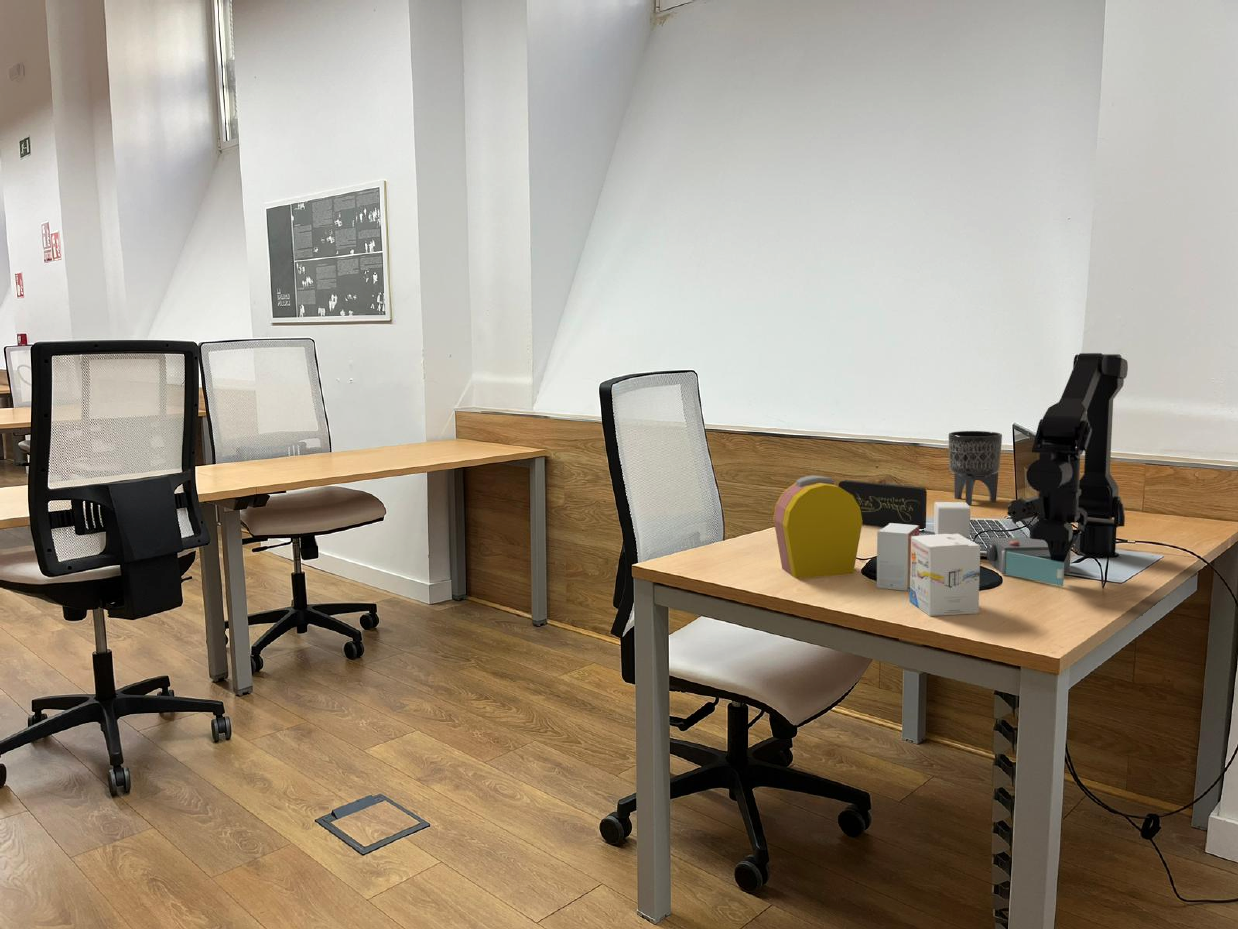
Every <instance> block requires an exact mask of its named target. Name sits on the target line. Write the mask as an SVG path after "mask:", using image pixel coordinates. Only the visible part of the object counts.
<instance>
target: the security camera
mask: <svg viewBox="0 0 1238 929" xmlns="http://www.w3.org/2000/svg"><path fill="white" fill-rule="evenodd" d="M933 506H934V508H933V513H934V514H933V532H934V535H935V534H960V535H962V536H963V537H965V538H966V537H967V539H970V535H971V507H970V505H968V504H967V503H966V501H965V502H962V501H958V502H957V501H953V502H952V501H950V502H949V501H945V502H944V501H935V502H934V505H933Z"/></svg>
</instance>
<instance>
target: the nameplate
mask: <svg viewBox="0 0 1238 929" xmlns="http://www.w3.org/2000/svg"><path fill="white" fill-rule="evenodd" d="M837 486H838V487H840V488H842V489H843V490H845V491H846V492H848V493H850V494H851V495H852V496H853V497H854V499H855V500H856V502H857V504H858V505H859V507H860V511H861V516H862V526H864V525H865V526H872V527H879V528H884V527H886V526H887V525H888V524H889V523H896V524H907V525H918V526H919V529H924V528H926V529H927V501H928V500H927V498H928V497H927V496H928V493H927V489H926V488H924V487H921V486H919V487H918V486H913V485H911V486H910V485H900V484H899V485H898V484H889V483H880V482H879V483H878V482H877V483H876V482H871V481H870V482H869V481H860V480H850V479H849V480H848V479H845V480H841V481H840V482H839V483H838V485H837Z"/></svg>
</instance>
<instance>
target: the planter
mask: <svg viewBox="0 0 1238 929" xmlns="http://www.w3.org/2000/svg"><path fill="white" fill-rule="evenodd" d="M1002 441H1003V434H1002V433H1000V432H995V431H984V430H962V431H951V432H948V463H949V464H948V468H949V470H950V471H949V472H951V473H954V475H953V476H954V482H953V484H954V499H955V500H956V499H957V500H959V499H961V500H962V497H963V496H962V495H963V490H964V487H965V502H966V503H967V504H968V505H969V506H973V505H972V504H973V503H972V502H973V495H974V494H973V493H974V486H975V483H976V481H979V482H981V483H983V484H984V485H985V487H986V488H987V490H988V494H989V501H990V502H997V494H998V484H999V483H998V482H999V471H1000V465H1001V454H1002V443H1003V442H1002Z"/></svg>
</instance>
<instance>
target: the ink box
mask: <svg viewBox="0 0 1238 929" xmlns="http://www.w3.org/2000/svg"><path fill="white" fill-rule="evenodd" d="M980 568H981V545H980V544H978V543H976V542H974V541H972V540H970V538H966V537H963V536H962V535H960V534H935V533H934V534H924V535H923V534H922V535H919V536H912V537H911V574H910V588H909V602H910V603H911V604H912V605H914V606H915V607H916V608H917V609H919V610H920V611H922V612H924V613H925V614H926V615H928V616H929V617H939V616H956V615H958V616H959V615H971V614H972V615H973V614H975V615H976V614H979V604H980V601H979V600H980V574H981V573H980Z"/></svg>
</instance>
